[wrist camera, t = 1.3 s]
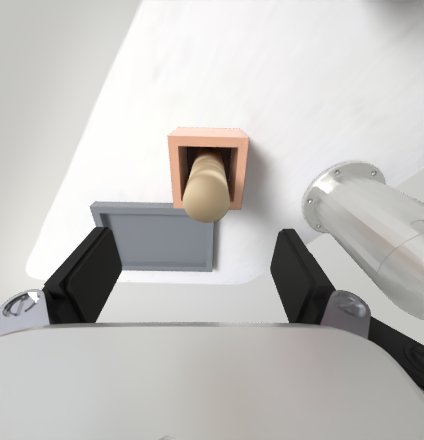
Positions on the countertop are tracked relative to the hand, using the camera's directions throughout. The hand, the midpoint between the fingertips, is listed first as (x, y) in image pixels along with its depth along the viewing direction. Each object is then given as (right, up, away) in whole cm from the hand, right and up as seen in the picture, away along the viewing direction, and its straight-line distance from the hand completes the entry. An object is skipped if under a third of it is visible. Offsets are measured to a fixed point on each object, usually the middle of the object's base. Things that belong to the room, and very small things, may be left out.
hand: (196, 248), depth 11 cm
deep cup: (0, +11, +18) cm, 21 cm away
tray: (-9, -1, +26) cm, 27 cm away
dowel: (0, +11, +18) cm, 21 cm away
